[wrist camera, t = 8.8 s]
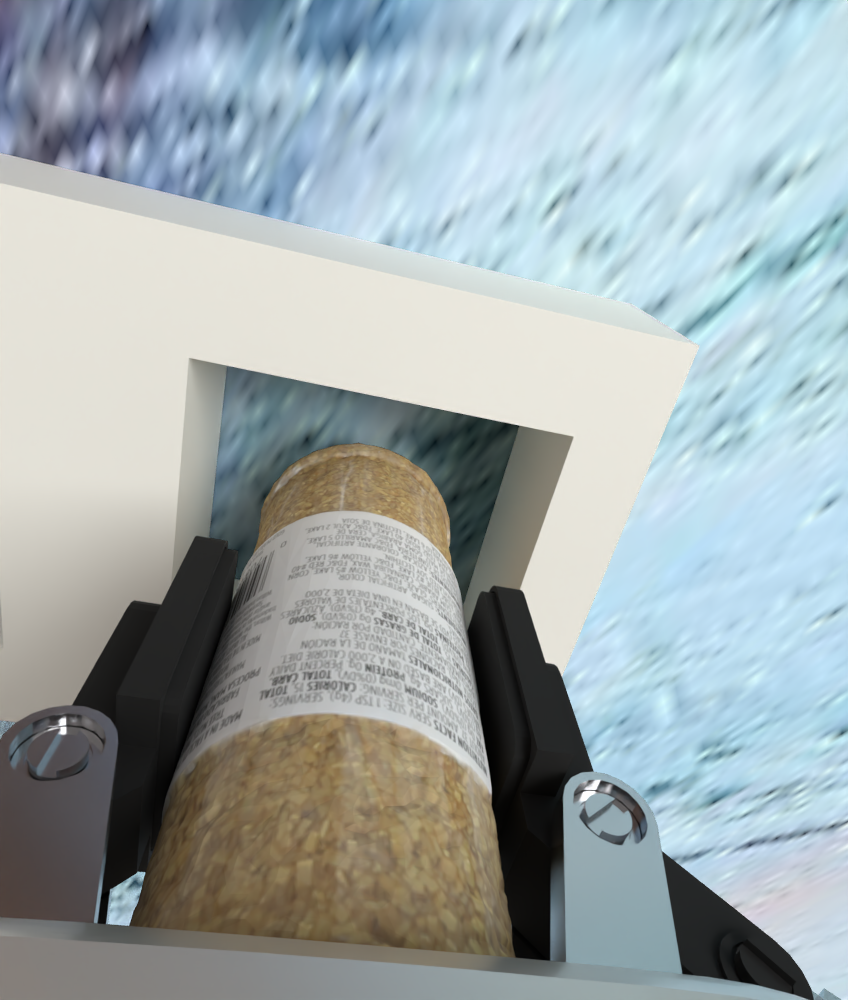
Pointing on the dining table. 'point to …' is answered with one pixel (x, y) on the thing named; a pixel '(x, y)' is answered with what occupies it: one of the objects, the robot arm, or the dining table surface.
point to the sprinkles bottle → (338, 733)
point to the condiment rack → (291, 354)
